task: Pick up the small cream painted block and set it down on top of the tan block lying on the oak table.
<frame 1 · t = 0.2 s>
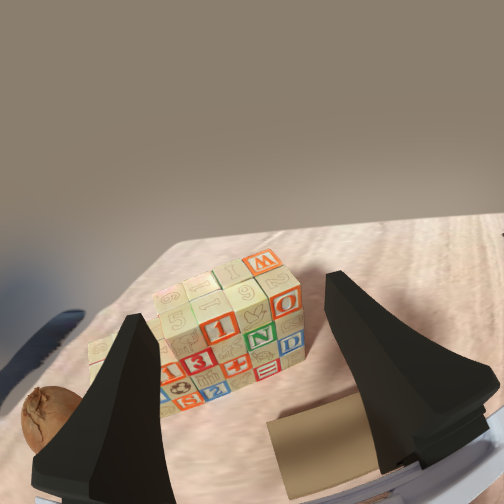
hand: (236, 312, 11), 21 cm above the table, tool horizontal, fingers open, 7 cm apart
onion: (85, 443, 26), on the table
tan block: (339, 446, 23), on the table
stack of blocks: (211, 378, 32), on the table
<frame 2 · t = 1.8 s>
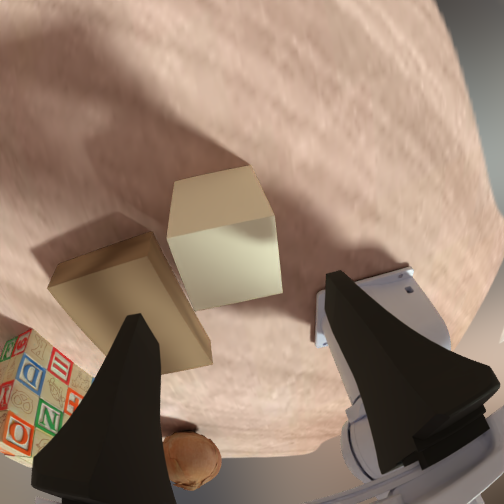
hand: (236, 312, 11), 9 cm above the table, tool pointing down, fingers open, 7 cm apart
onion: (186, 430, 39), on the table
cream block: (219, 205, 18), on the table
tan block: (139, 303, 22), on the table
stack of blocks: (85, 384, 29), on the table
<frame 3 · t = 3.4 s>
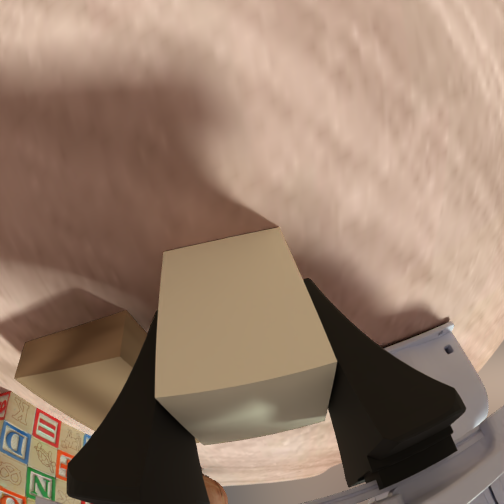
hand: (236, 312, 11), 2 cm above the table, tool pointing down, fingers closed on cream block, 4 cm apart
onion: (189, 469, 34), on the table
cream block: (231, 282, 13), on the table, touching gripper
tan block: (130, 378, 17), on the table
stack of blocks: (78, 437, 23), on the table
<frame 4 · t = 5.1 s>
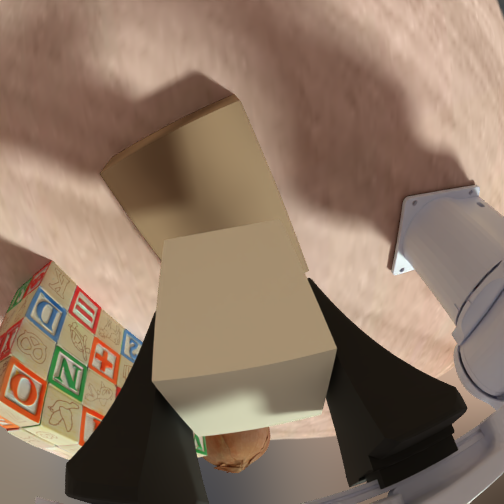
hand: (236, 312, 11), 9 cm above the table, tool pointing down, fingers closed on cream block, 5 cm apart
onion: (226, 402, 36), on the table
cream block: (230, 274, 13), point 7 cm above the table, touching gripper
tan block: (213, 203, 19), on the table
stack of blocks: (114, 343, 26), on the table
when the fingers open (6 cm above the table, at t = 6.7 s): cream block drops 1 cm, point 2 cm above the table.
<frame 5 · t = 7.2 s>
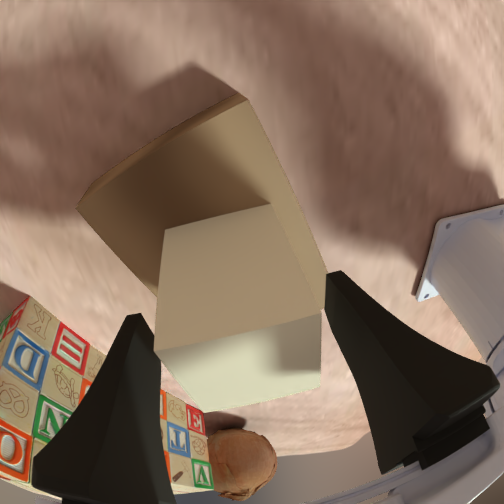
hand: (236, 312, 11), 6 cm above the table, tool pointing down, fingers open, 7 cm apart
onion: (230, 426, 33), on the table
cream block: (229, 258, 14), point 2 cm above the table
tan block: (221, 228, 16), on the table
stack of blocks: (109, 376, 23), on the table
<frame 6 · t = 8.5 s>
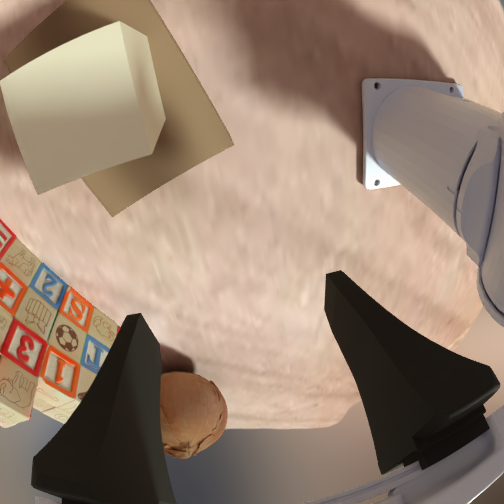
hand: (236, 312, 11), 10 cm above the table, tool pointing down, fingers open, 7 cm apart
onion: (179, 372, 31), on the table
cream block: (112, 91, 12), point 2 cm above the table
tan block: (121, 86, 14), on the table
stack of blocks: (40, 286, 21), on the table
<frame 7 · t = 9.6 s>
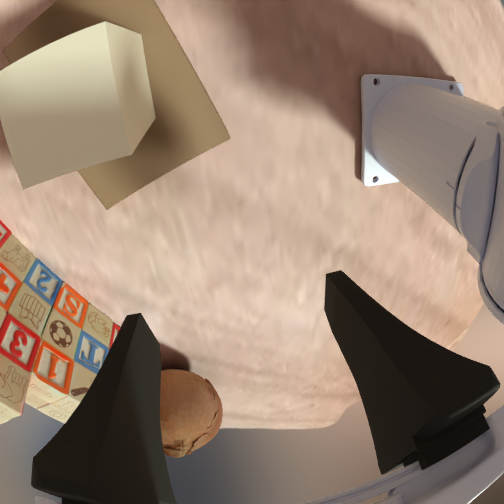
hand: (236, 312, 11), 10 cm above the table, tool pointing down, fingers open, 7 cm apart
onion: (174, 370, 30), on the table
cream block: (105, 88, 12), point 2 cm above the table, touching tan block
tan block: (119, 78, 14), on the table, touching cream block
stack of blocks: (35, 283, 21), on the table
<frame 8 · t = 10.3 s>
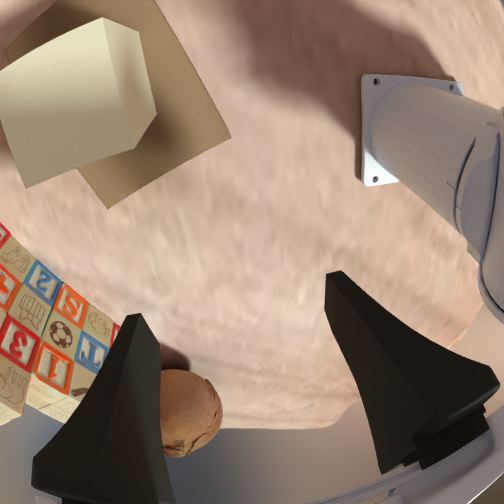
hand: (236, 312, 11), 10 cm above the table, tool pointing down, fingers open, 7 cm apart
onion: (174, 370, 30), on the table
cream block: (104, 86, 12), point 2 cm above the table
tan block: (120, 78, 14), on the table
stack of blocks: (35, 284, 21), on the table
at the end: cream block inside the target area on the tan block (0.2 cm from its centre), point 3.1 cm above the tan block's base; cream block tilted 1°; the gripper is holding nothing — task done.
